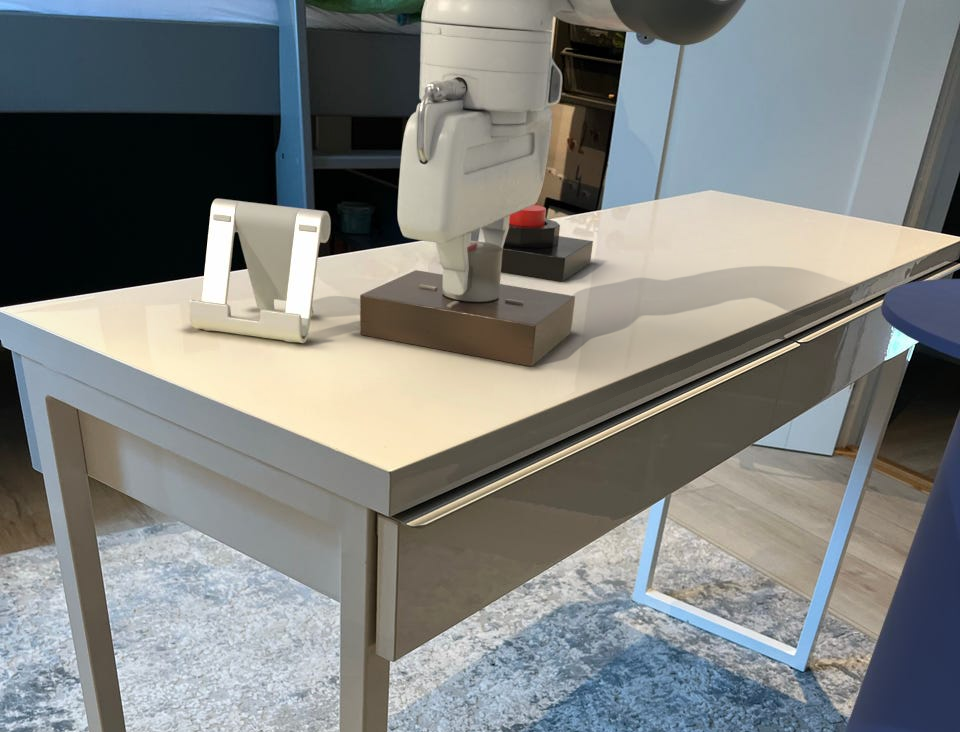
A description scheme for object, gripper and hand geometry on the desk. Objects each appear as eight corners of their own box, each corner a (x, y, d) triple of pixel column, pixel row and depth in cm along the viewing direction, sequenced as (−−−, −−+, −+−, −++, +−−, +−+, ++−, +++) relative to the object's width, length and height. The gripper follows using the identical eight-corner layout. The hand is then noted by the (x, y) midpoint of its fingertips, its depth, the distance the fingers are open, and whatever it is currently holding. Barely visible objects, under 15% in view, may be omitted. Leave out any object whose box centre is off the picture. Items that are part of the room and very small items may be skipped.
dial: (454, 284, 76) (457, 233, 74) (506, 292, 75) (510, 241, 73) (433, 296, 73) (435, 243, 70) (488, 305, 71) (491, 251, 69)
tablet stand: (190, 331, 71) (179, 210, 66) (236, 306, 78) (228, 194, 73) (299, 346, 70) (295, 224, 65) (337, 320, 76) (335, 206, 72)
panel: (571, 334, 78) (575, 293, 76) (531, 366, 70) (535, 322, 68) (414, 306, 81) (415, 267, 80) (359, 334, 73) (359, 292, 72)
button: (549, 225, 97) (551, 206, 96) (537, 231, 94) (538, 212, 93) (512, 220, 98) (514, 201, 97) (499, 226, 95) (500, 207, 94)
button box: (590, 263, 100) (595, 222, 98) (562, 281, 93) (567, 237, 90) (484, 246, 104) (487, 207, 101) (448, 263, 96) (450, 220, 94)
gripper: (469, 87, 57) (457, 323, 64) (570, 76, 73) (550, 266, 80) (374, 77, 58) (373, 308, 66) (493, 68, 74) (481, 255, 82)
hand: (471, 284), depth 73 cm, fingers closed on dial, 4 cm apart
